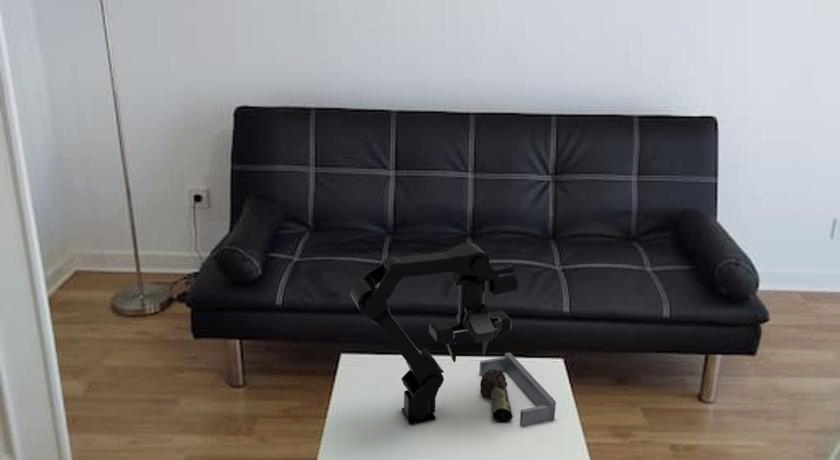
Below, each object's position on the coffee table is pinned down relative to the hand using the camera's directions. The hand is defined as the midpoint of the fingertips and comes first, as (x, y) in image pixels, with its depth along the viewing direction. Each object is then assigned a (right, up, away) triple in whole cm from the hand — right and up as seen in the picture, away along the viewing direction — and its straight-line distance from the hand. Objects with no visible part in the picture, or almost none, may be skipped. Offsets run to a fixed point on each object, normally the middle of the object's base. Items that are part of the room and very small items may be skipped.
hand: (469, 358), depth 183 cm
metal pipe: (+7, -12, +7) cm, 15 cm away
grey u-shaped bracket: (+12, -11, +9) cm, 18 cm away
